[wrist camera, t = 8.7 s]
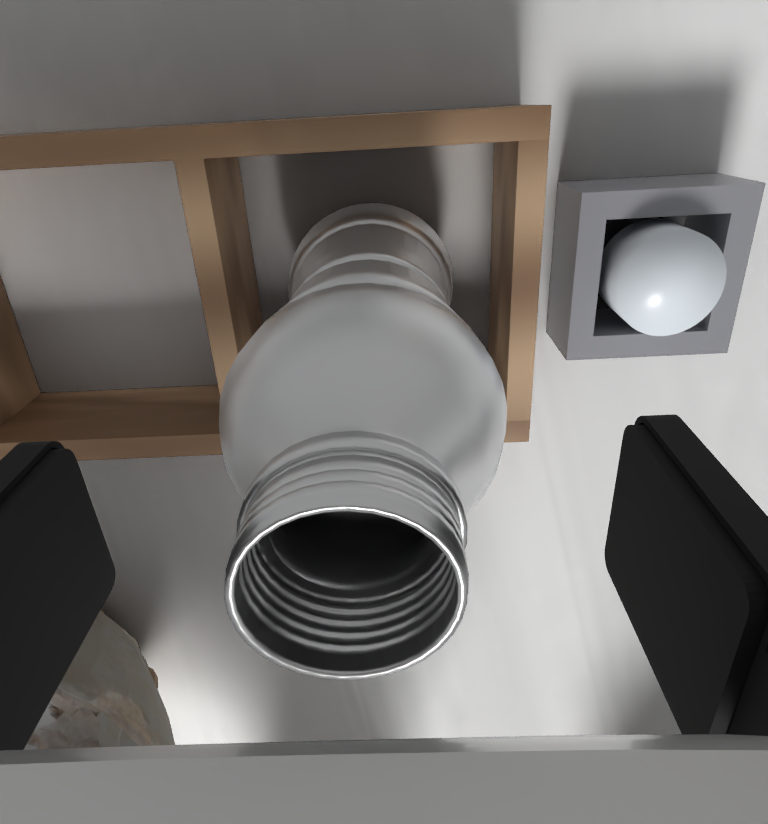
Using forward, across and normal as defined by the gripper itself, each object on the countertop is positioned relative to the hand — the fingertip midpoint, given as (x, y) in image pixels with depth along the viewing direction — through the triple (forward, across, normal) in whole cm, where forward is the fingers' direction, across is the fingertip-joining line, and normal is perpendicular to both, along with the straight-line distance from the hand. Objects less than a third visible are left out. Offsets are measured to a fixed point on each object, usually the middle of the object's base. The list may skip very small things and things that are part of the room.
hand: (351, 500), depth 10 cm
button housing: (+18, -11, +1) cm, 21 cm away
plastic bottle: (+18, 0, +1) cm, 18 cm away
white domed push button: (+16, -11, +1) cm, 20 cm away
